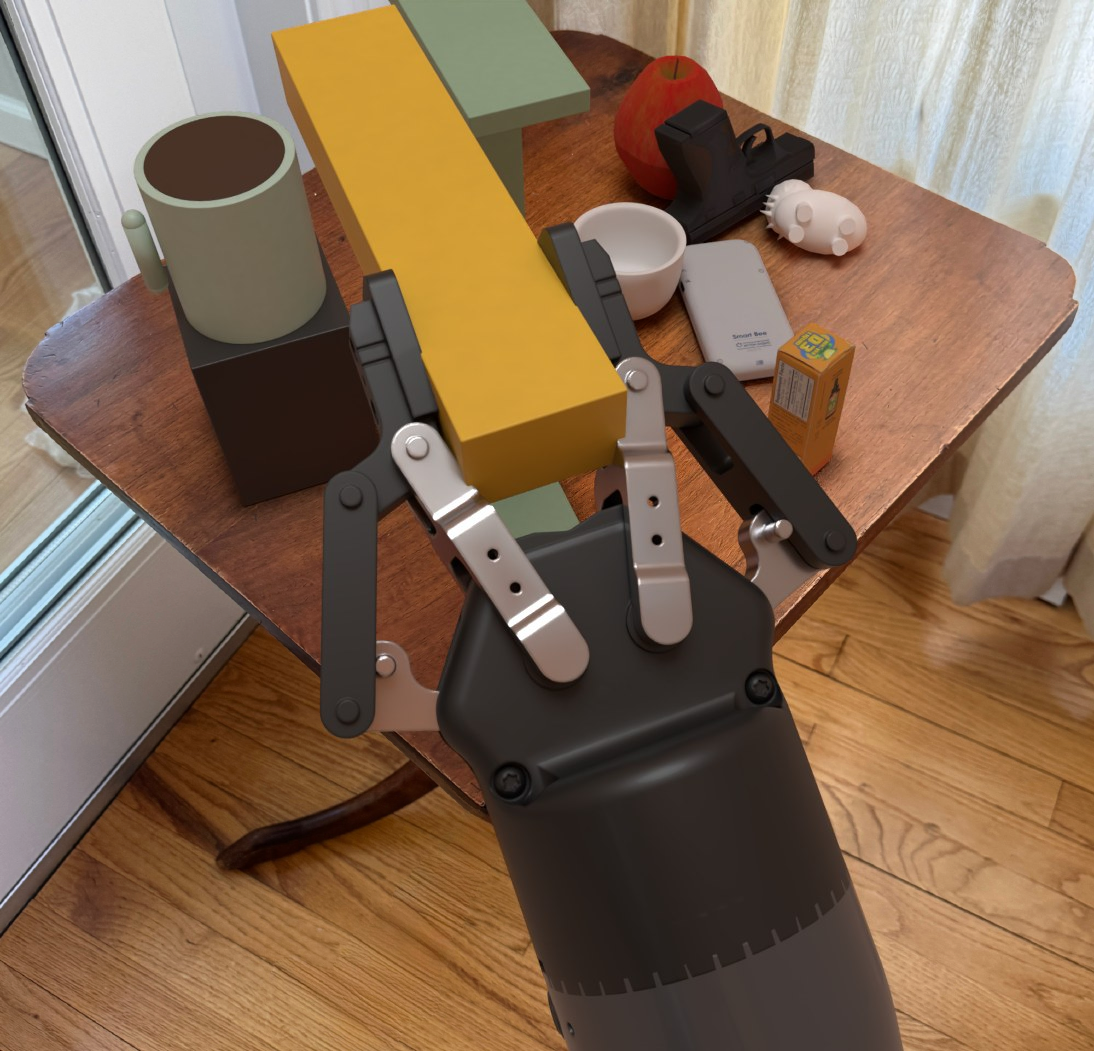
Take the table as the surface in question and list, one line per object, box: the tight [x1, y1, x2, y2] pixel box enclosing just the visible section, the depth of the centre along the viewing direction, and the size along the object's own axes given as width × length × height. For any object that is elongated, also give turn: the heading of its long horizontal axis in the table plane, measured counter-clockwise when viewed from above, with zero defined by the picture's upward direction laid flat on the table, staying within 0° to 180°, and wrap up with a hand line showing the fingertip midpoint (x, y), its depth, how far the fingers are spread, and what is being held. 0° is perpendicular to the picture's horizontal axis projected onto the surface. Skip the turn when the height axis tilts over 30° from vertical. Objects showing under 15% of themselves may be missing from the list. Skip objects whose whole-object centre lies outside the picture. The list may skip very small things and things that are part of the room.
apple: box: [612, 54, 725, 201], centre depth 84 cm, size 8×8×11 cm
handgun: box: [654, 99, 816, 246], centre depth 82 cm, size 3×14×10 cm, turn 128°
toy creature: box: [760, 179, 868, 257], centre depth 83 cm, size 5×8×6 cm
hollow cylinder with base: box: [120, 110, 380, 507], centre depth 65 cm, size 10×9×21 cm
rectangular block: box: [270, 4, 628, 504], centre depth 31 cm, size 4×18×2 cm, turn 22°
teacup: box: [573, 201, 686, 321], centre depth 79 cm, size 10×8×5 cm
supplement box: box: [767, 322, 856, 477], centre depth 67 cm, size 3×3×10 cm
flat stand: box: [387, 0, 591, 539], centre depth 59 cm, size 5×12×30 cm, turn 21°
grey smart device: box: [677, 239, 796, 384], centre depth 78 cm, size 6×13×2 cm, turn 10°
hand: (464, 262), depth 28 cm, fingers closed on rectangular block, 4 cm apart
